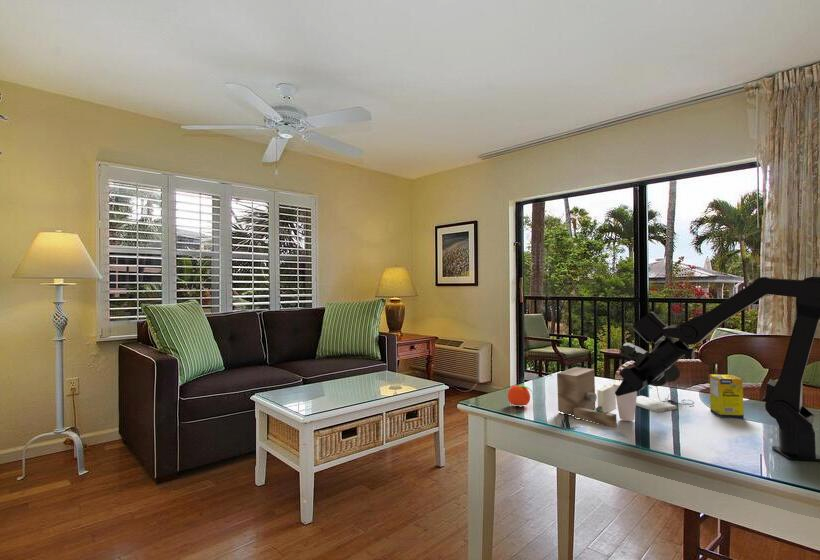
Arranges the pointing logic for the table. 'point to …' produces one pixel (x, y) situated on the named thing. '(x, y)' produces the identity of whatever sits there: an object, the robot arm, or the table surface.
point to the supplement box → (726, 396)
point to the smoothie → (626, 404)
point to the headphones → (668, 376)
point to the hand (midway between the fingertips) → (620, 392)
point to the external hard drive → (653, 404)
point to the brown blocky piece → (581, 396)
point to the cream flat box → (606, 399)
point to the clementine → (519, 395)
